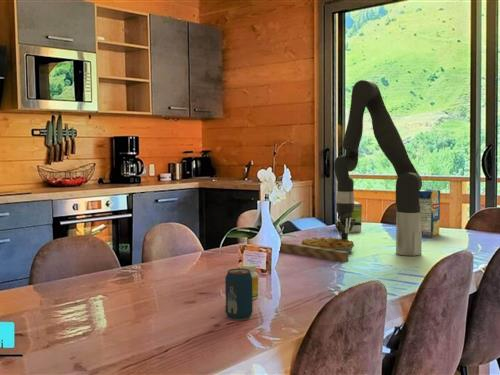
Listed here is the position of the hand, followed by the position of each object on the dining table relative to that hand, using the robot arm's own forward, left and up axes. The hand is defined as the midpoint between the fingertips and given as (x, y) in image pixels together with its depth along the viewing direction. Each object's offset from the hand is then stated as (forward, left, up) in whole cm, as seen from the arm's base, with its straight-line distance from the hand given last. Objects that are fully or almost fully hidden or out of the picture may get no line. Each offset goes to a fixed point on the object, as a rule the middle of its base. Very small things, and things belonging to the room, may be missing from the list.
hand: (344, 241), depth 248 cm
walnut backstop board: (0, +25, -2) cm, 25 cm away
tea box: (+28, -45, -3) cm, 53 cm away
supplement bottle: (-28, +89, -3) cm, 93 cm away
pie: (0, +12, -3) cm, 13 cm away
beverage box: (-9, -59, -3) cm, 60 cm away
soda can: (-39, +104, -3) cm, 111 cm away
